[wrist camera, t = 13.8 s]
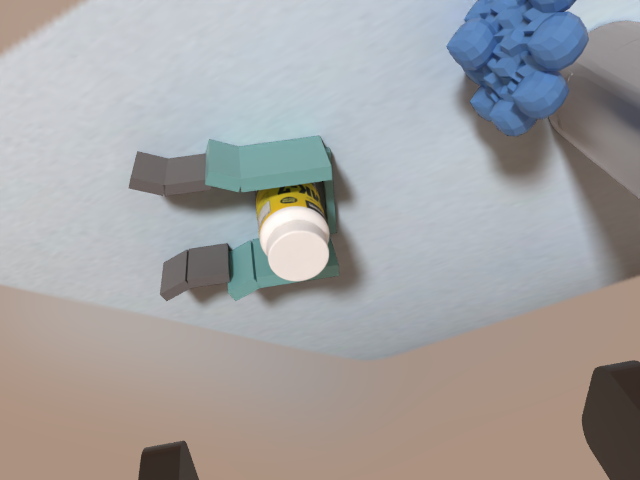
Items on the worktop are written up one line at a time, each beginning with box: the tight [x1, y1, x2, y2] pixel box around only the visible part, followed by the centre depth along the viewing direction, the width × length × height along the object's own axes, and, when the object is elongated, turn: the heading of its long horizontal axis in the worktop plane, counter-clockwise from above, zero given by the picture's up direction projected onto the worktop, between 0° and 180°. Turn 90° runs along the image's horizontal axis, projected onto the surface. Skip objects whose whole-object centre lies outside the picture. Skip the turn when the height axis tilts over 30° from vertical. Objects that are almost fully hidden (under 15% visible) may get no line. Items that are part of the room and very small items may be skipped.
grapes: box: [446, 0, 589, 137], centre depth 34 cm, size 12×7×12 cm, turn 2°
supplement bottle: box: [255, 182, 329, 281], centre depth 41 cm, size 5×5×8 cm
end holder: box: [205, 136, 339, 301], centre depth 43 cm, size 9×11×5 cm
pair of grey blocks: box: [129, 151, 230, 301], centre depth 42 cm, size 5×10×4 cm, turn 5°
